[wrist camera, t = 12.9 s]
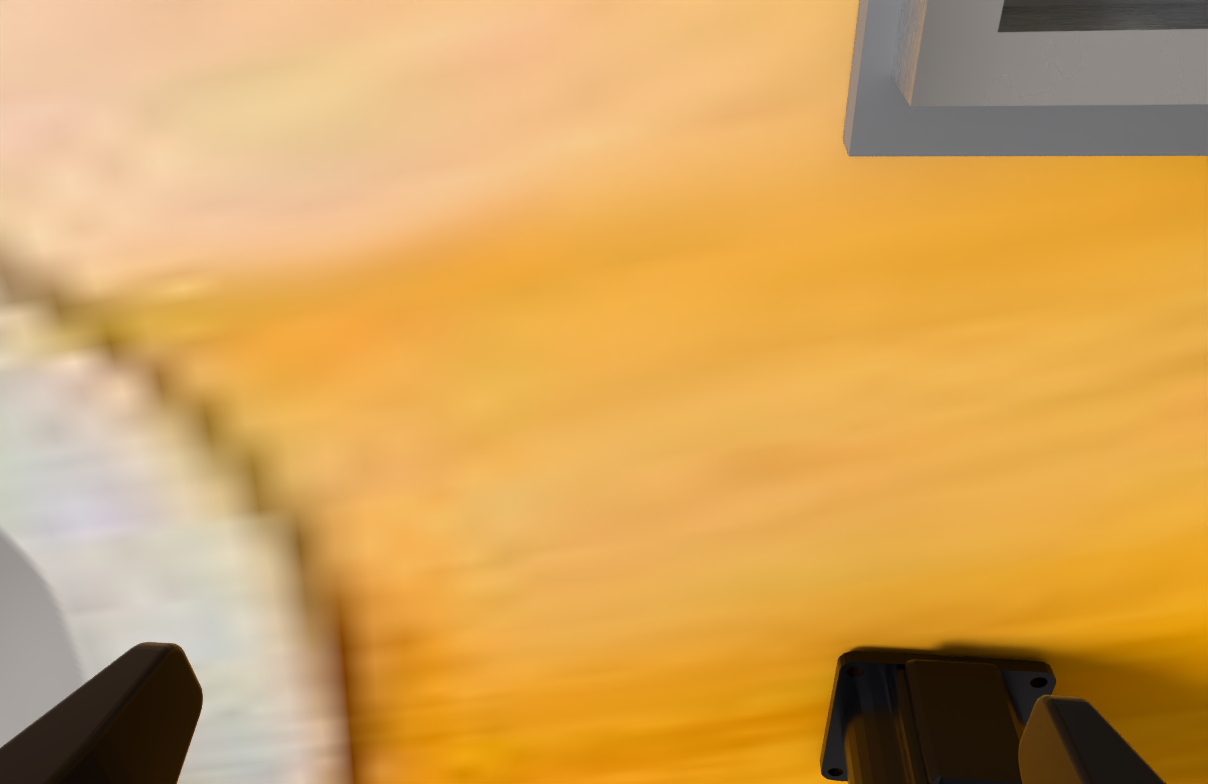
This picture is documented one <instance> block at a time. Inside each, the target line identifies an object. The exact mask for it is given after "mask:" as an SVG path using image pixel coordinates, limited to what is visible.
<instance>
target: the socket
mask: <svg viewBox="0 0 1208 784" xmlns="http://www.w3.org/2000/svg"><path fill="white" fill-rule="evenodd" d="M843 142H844V145H845V147H846V150H847V153H848V155H849V156H1208V0H859V9H858V17H857V25H856V34H855V42H854V50H853V59H852V67H851V76H850V84H849V92H848V101H847V109H846V117H845V126H844V134H843Z"/></svg>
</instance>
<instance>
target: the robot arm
mask: <svg viewBox="0 0 1208 784" xmlns="http://www.w3.org/2000/svg"><path fill="white" fill-rule="evenodd" d="M1055 684H1056V678H1055V676H1054V673H1053V670H1052V668H1051V667H1050V665H1048V664H1046V663H1044V662H1039V661H1021V660H1004V659H986V658H968V657H950V656H932V655H914V654H896V653H878V652H860V651H852V652H847V653H844V654H843V655H841V656H840V657H839V659H838V662H837V667H836V673H835V678H834V684H833V690H832V695H831V701H830V707H829V712H828V718H827V723H826V729H825V735H824V740H823V746H822V752H821V757H820V766H821V774H822V775H823V776H824V777H825V778H827V779H830V780H836V781H848V784H1166V783H1165V782H1164V781H1163V780H1162V779H1161V777H1160V776H1159V775H1158V774H1157V773H1156V772H1155V771H1154V770H1153V769H1152V768H1151V767H1150V766H1149V765H1148V764H1147V763H1146V761H1145V760H1144V759H1143V758H1142V757H1141V756H1140V755H1139V754H1138V753H1137V752H1136V751H1135V750H1134V749H1133V748H1132V747H1131V746H1130V744H1129V743H1128V742H1127V741H1126V740H1125V739H1124V738H1123V737H1122V736H1121V735H1120V734H1119V733H1118V732H1117V731H1116V730H1115V728H1114V727H1113V726H1112V725H1111V724H1110V723H1109V722H1108V721H1107V720H1106V719H1105V718H1104V717H1103V716H1102V715H1101V714H1100V712H1099V711H1098V710H1097V709H1096V708H1095V707H1094V706H1093V705H1092V704H1091V703H1089V702H1088V701H1086V700H1085V699H1083V698H1080V697H1076V696H1060V695H1051V694H1052V692H1053V689H1054V687H1055ZM202 703H203V694H202V688H201V686H200V684H199V682H198V679H197V677H196V675H195V673H194V671H193V669H192V667H191V665H190V663H189V661H188V659H187V657H186V655H185V653H184V651H183V649H182V648H181V647H180V646H178V645H177V644H173V643H157V642H145V643H140V644H138V645H136V646H134V647H133V648H131V649H130V650H128V651H127V652H126V653H124V654H123V655H122V656H120V657H119V658H118V659H117V660H115V661H114V662H113V663H111V664H110V665H109V666H107V667H106V668H105V669H103V670H102V671H101V672H99V673H98V674H97V675H95V676H94V677H93V678H92V679H90V680H89V681H88V682H86V683H85V684H84V685H82V686H81V687H80V688H78V689H77V690H76V691H74V692H73V693H72V694H71V695H69V696H68V697H67V698H65V699H64V700H63V701H61V702H60V703H59V704H57V705H56V706H55V707H53V708H52V709H51V710H50V711H48V712H47V713H46V714H44V715H43V716H42V717H40V718H39V719H38V720H36V721H35V722H34V723H32V724H31V725H30V726H28V727H27V728H26V729H25V730H23V731H22V732H21V733H19V734H18V735H17V736H15V737H14V738H13V739H11V740H10V741H9V742H7V743H6V744H5V745H3V746H2V747H1V748H0V784H177V781H178V778H179V775H180V772H181V769H182V766H183V763H184V760H185V757H186V754H187V752H188V749H189V746H190V743H191V740H192V737H193V734H194V731H195V728H196V725H197V722H198V719H199V716H200V713H201V709H202Z"/></svg>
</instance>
